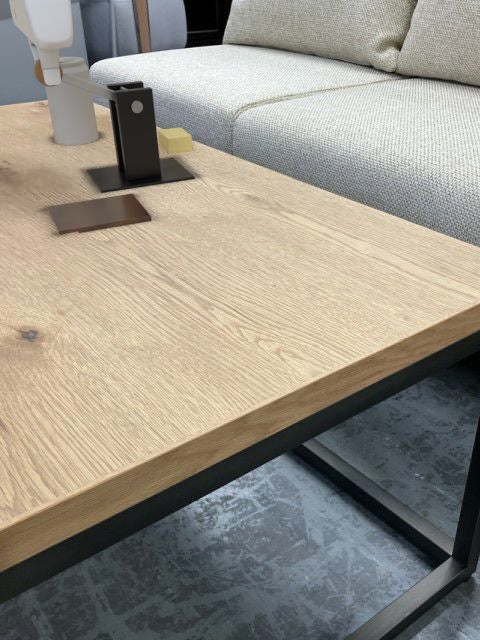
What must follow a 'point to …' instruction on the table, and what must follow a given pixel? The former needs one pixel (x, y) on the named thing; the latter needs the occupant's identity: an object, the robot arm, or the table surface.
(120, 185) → the black lever stand
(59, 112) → the beverage can
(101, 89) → the arm
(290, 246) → the table surface
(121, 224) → the board
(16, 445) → the table surface
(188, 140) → the butter
